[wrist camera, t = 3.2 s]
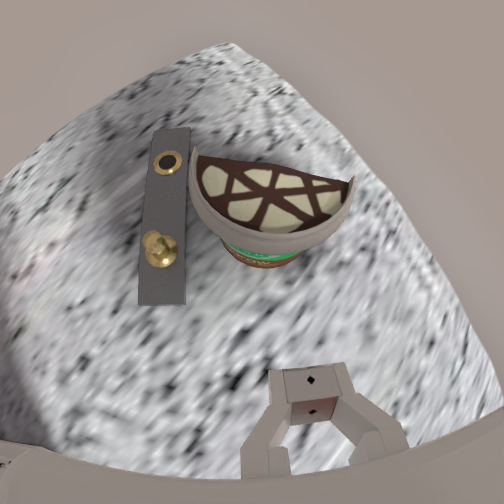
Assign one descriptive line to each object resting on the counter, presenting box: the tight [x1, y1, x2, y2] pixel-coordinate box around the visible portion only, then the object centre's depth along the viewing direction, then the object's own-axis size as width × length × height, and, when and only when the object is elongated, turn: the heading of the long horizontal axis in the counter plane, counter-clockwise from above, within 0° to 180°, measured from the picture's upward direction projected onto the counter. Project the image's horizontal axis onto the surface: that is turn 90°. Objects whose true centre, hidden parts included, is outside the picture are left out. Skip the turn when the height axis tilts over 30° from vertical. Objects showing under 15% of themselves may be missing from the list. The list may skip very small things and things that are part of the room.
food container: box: [188, 146, 356, 268], centre depth 23 cm, size 12×6×10 cm, turn 79°
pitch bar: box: [138, 127, 191, 306], centre depth 27 cm, size 4×20×4 cm, turn 4°
